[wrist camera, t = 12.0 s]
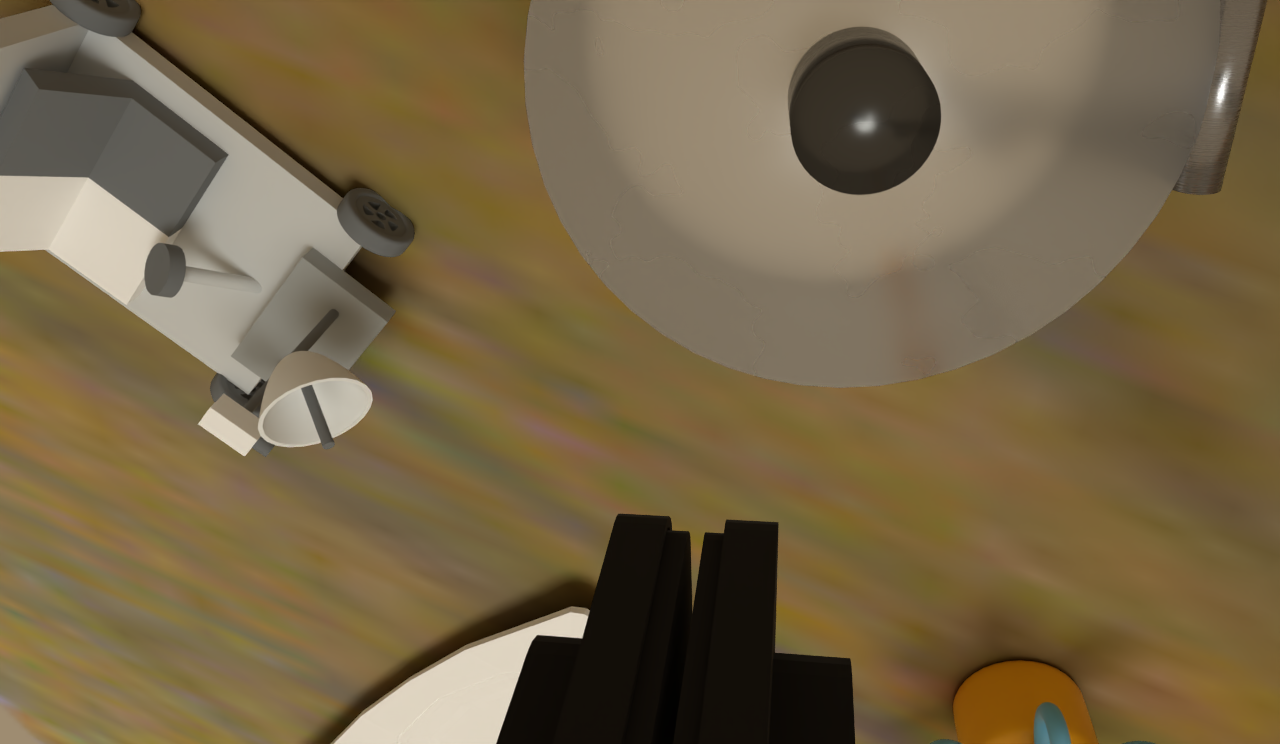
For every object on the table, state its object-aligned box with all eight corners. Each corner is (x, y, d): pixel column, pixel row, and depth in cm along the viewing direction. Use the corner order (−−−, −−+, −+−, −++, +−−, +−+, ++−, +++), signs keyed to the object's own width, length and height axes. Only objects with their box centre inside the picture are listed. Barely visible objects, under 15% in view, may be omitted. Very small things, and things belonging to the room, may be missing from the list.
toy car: (396, 387, 32) (232, 578, 37) (477, 267, 41) (334, 436, 46) (-125, -1, 28) (-229, 274, 33) (87, -45, 37) (-23, 180, 42)
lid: (1328, -333, 20) (1435, -361, 17) (1162, 368, 28) (1214, 440, 25) (498, -279, 22) (455, -293, 19) (561, 364, 30) (538, 430, 26)
